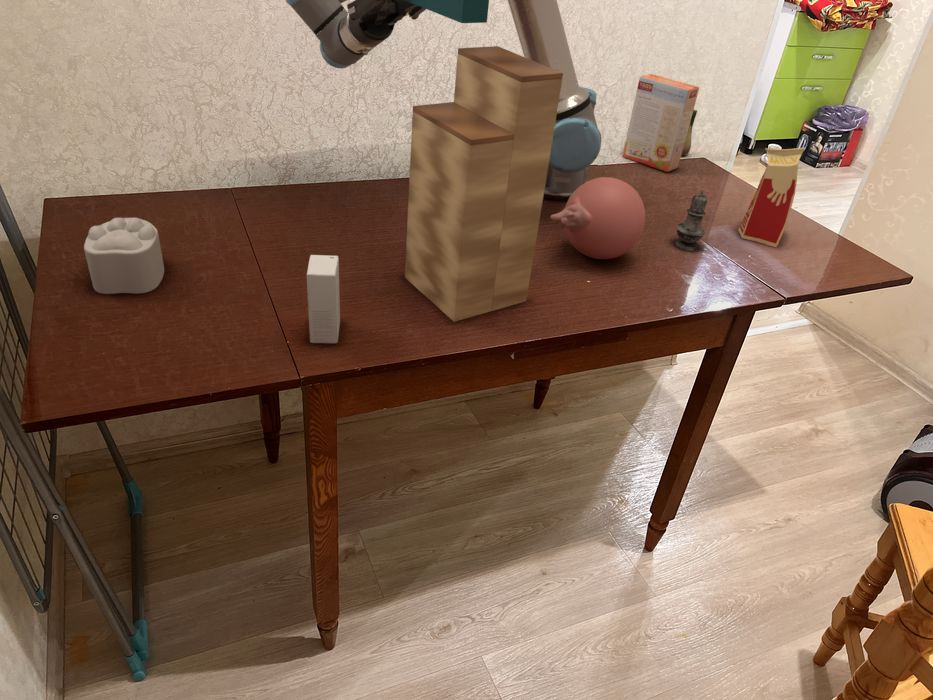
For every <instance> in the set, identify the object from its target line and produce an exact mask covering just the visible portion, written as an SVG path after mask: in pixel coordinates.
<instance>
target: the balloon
mask: <svg viewBox="0 0 933 700" xmlns="http://www.w3.org/2000/svg"><path fill="white" fill-rule="evenodd" d="M566 201H567V202H566V204H565V206H564V208H563V209H562V210H561V211H559V212H557V213H555V214H554V213H553V214H551V215H550V220H551V221H553V222H554V221H555V222H557V224H558V226H559V227H561V228H562V229H564V233H565V235H566V238H567V240H568V242H569V243H570V245H571V246H572V247H573V248H574V249H575V250H577V251H578V252H579V253H581V254H582V255H584V256H586V257H588V258H591V259H596V260H610V259H615V258H618V257H620V256H622V255H624V254H626V253H628V252H629V251H630V250H631V249H632V248H633V247H635V245H636V244H637V243H638V242H639V240H640V238H641V236H642V235H643V232H644V229H645V225H646V209H645V205H644V201H643V199H642V198H641V196H640V194H639V193H638V191H637V190H636V189H635V188H634V187H633V186H632V185H630V184H629V183H627V182H625V181H624V180H621V179H619V178H615V177H609V176H604V177H596V178H593V179H590V180H587V182H586V183H584V184H582V185H581V186H580V187H578V188H577V189H576V190H575V191H574V192H573V193H572V195H571V196H570V198H569V199H568V200H566Z"/></svg>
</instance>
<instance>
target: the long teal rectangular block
mask: <svg viewBox="0 0 933 700" xmlns="http://www.w3.org/2000/svg"><path fill="white" fill-rule="evenodd" d="M405 1H408V2H410V3H413V4H415V5H418V6H420V7H423V8H425V9H426V10H428V11H431V12H433V13H435V14H438V15H440V16H443V17H445V18H447V19H450V20H453V21H455V22H457V23H460V24H485V23H488V14H489V7H490V6H489V5H490V0H405Z"/></svg>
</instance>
